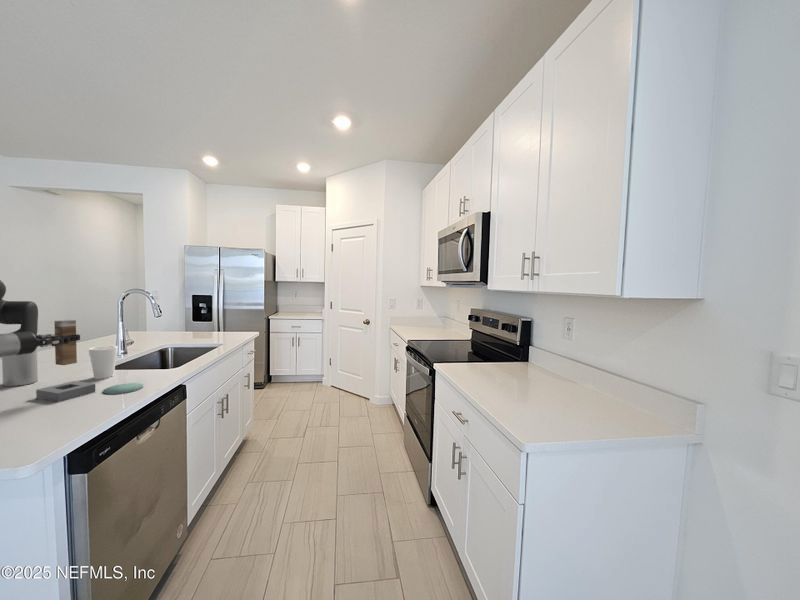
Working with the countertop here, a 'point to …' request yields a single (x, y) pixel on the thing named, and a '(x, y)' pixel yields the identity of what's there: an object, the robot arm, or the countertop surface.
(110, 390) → the mat
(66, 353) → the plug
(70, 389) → the socket block
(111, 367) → the foam cup
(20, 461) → the countertop surface
